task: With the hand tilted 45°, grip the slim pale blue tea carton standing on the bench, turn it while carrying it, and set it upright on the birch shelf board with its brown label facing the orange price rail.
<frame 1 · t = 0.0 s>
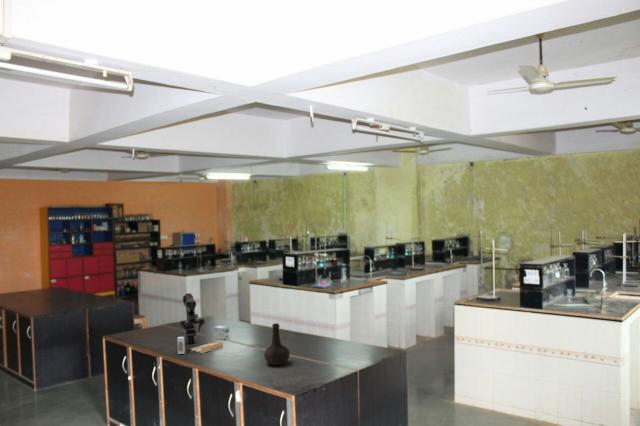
hand: (193, 333, 400), 15 cm above the countertop, tool tilted 35°, fingers open, 9 cm apart
shelf board: (206, 349, 405), on the countertop
glass bottle: (277, 363, 359), on the countertop
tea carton: (181, 354, 395), on the countertop
light bulb box: (222, 339, 439), on the countertop
price rail: (212, 346, 400), on the shelf board, point 4 cm above the countertop
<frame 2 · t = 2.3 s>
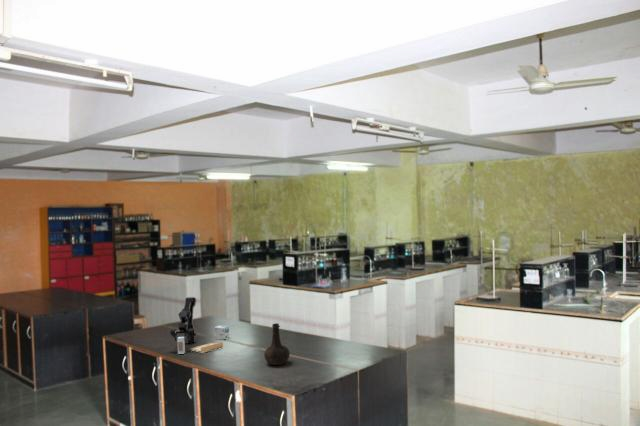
hand: (181, 341, 397), 9 cm above the countertop, tool tilted 45°, fingers open, 9 cm apart
nothing on the countertop moved.
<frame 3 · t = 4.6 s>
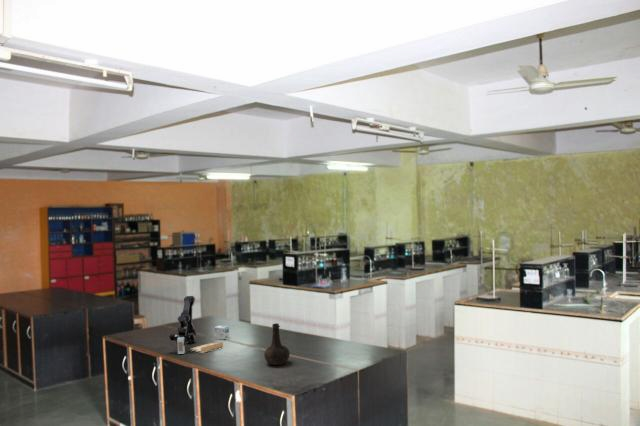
hand: (180, 346, 394), 7 cm above the countertop, tool tilted 45°, fingers closed on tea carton, 4 cm apart
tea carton: (181, 354, 395), on the countertop, touching gripper
everything else where it was.
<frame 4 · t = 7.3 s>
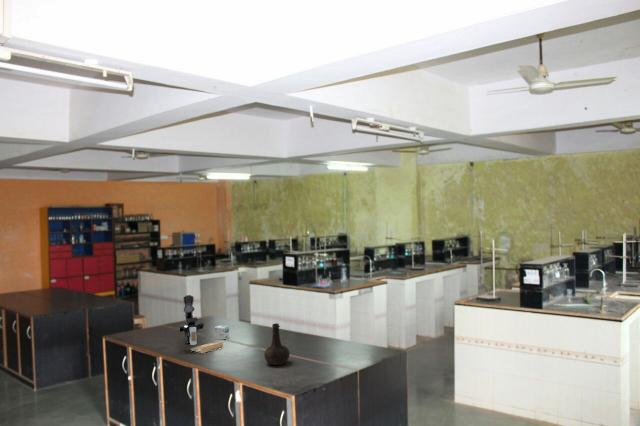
hand: (193, 336, 397), 13 cm above the countertop, tool tilted 45°, fingers closed on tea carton, 4 cm apart
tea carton: (193, 344, 398), point 7 cm above the countertop, touching gripper
everything else where it was.
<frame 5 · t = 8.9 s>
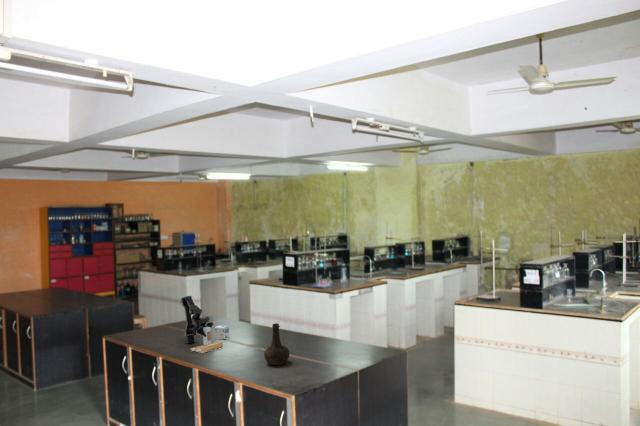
hand: (208, 335, 404), 11 cm above the countertop, tool tilted 45°, fingers closed on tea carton, 4 cm apart
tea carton: (207, 343, 404), point 5 cm above the countertop, touching gripper
everything else where it was.
when the fingers open (10 cm above the countertop, at t = 10.0 s): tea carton stays where it is, resting on shelf board.
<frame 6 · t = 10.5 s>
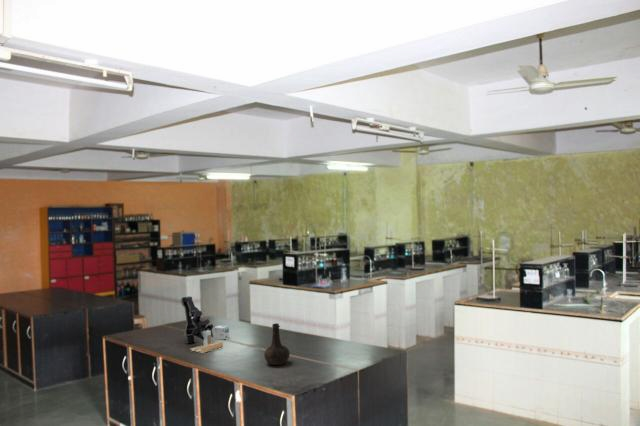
hand: (208, 338, 404), 10 cm above the countertop, tool tilted 45°, fingers open, 9 cm apart
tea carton: (207, 347, 404), point 2 cm above the countertop, touching shelf board
everything else where it was.
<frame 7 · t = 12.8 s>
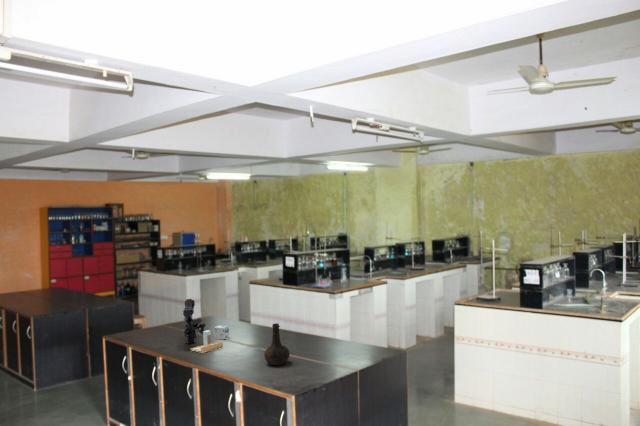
hand: (200, 336, 409), 10 cm above the countertop, tool tilted 45°, fingers open, 9 cm apart
nothing on the countertop moved.
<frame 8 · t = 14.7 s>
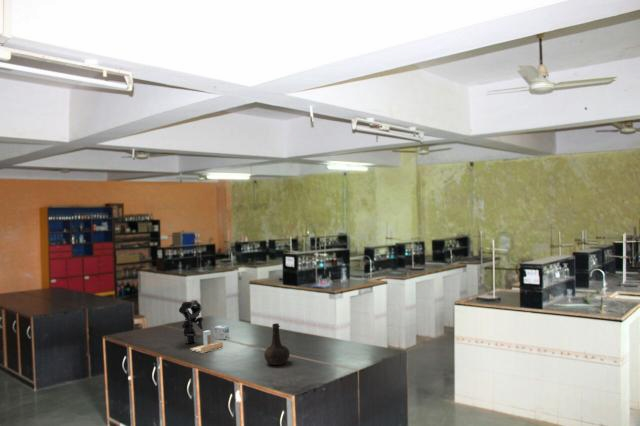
hand: (197, 330, 415), 14 cm above the countertop, tool tilted 45°, fingers open, 9 cm apart
nothing on the countertop moved.
at the end: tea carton inside the target area on the shelf board (0.1 cm from its centre), point 2.0 cm above the shelf board's base; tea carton tilted 0°; the gripper is holding nothing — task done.
